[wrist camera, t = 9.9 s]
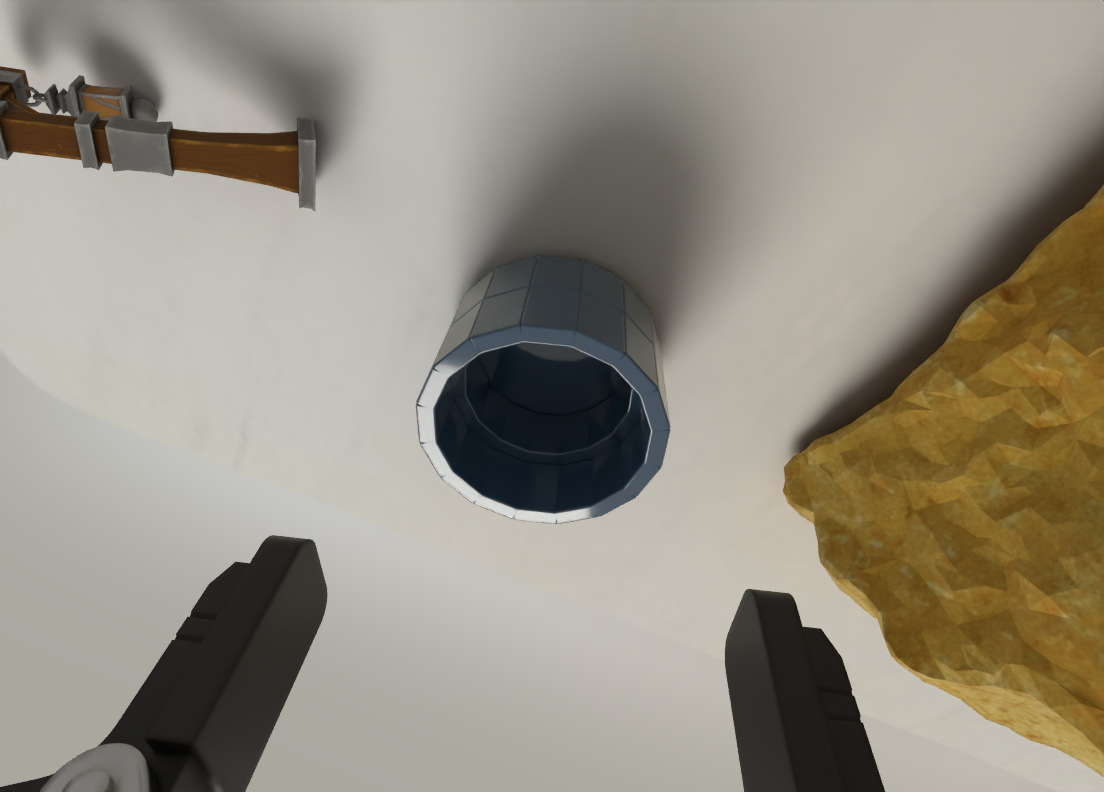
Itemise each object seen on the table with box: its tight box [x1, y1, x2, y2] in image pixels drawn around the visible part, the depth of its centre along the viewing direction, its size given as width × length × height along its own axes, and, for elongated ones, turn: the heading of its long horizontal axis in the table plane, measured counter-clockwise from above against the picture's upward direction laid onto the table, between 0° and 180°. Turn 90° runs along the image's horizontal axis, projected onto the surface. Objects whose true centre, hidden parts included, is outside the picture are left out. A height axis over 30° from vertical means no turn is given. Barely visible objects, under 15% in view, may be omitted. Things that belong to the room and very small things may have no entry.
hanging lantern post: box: [0, 67, 316, 211], centre depth 15 cm, size 2×8×4 cm, turn 77°
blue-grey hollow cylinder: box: [416, 256, 670, 524], centre depth 17 cm, size 6×6×4 cm
